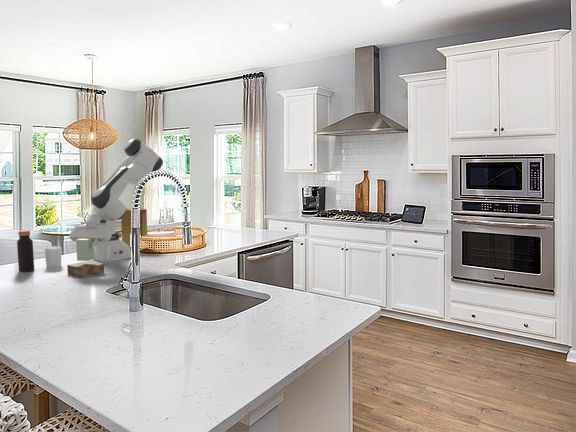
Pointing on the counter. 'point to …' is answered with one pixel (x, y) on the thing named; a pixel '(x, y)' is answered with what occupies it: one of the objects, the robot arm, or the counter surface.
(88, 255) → the tin
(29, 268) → the bottle
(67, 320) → the counter surface
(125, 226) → the food packaging
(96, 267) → the walnut block
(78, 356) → the counter surface
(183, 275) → the counter surface
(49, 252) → the white cup
